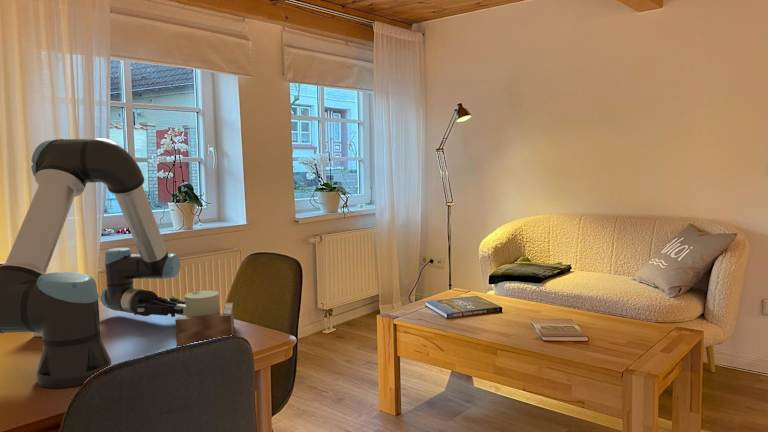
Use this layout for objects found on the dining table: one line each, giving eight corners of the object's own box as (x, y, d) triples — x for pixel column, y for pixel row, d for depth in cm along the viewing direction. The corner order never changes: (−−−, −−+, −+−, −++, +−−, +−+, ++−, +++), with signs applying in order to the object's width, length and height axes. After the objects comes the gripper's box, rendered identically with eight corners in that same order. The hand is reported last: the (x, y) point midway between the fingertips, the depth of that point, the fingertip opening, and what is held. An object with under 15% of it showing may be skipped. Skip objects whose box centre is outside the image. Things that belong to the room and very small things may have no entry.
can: (207, 328, 170) (204, 287, 169) (228, 333, 165) (226, 290, 164) (179, 336, 163) (177, 294, 161) (201, 342, 157) (198, 298, 156)
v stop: (173, 345, 156) (171, 319, 155) (230, 325, 172) (229, 302, 172) (202, 351, 150) (200, 324, 149) (258, 331, 166) (257, 306, 165)
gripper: (159, 309, 185) (212, 318, 172) (121, 319, 174) (174, 330, 161) (158, 285, 184) (210, 293, 171) (120, 294, 173) (173, 303, 160)
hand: (193, 311), depth 166 cm, fingers closed
